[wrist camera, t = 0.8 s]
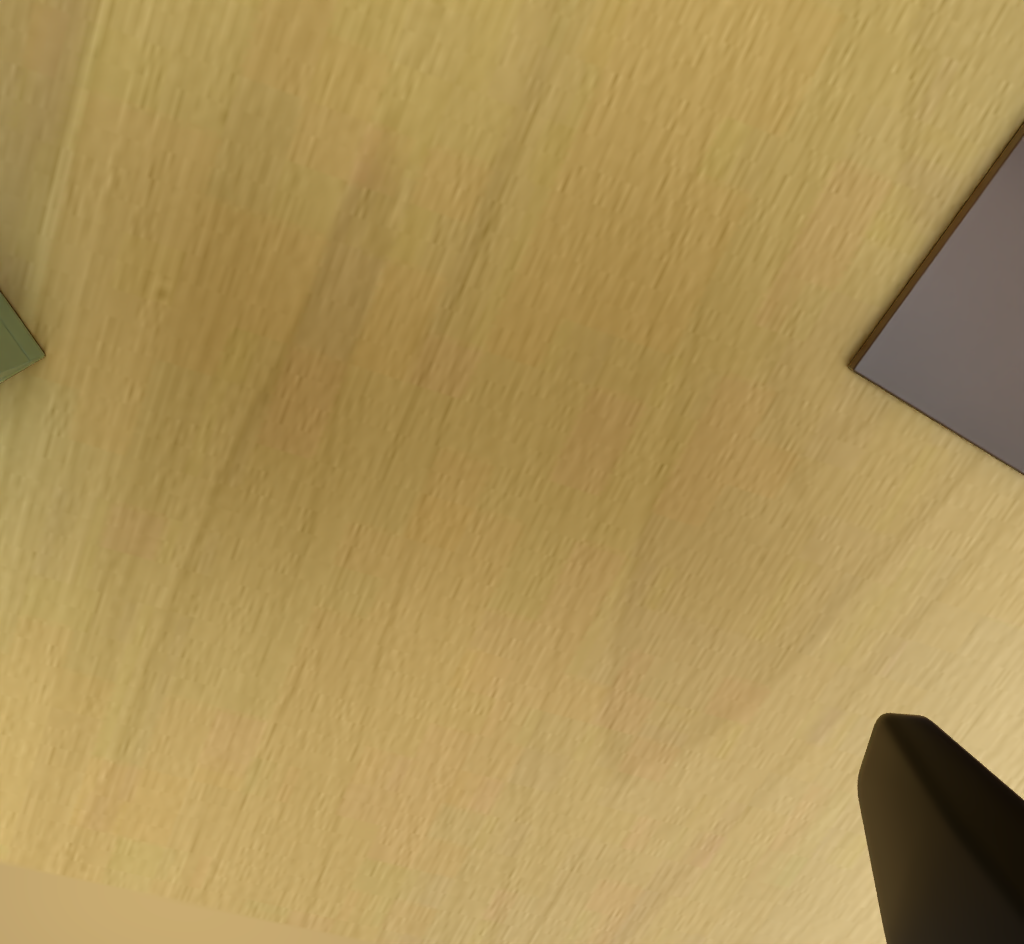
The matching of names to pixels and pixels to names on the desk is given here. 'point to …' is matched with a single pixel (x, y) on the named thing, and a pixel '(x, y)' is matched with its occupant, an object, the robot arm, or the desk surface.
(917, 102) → the desk surface
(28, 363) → the cooler
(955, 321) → the stand
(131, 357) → the desk surface
